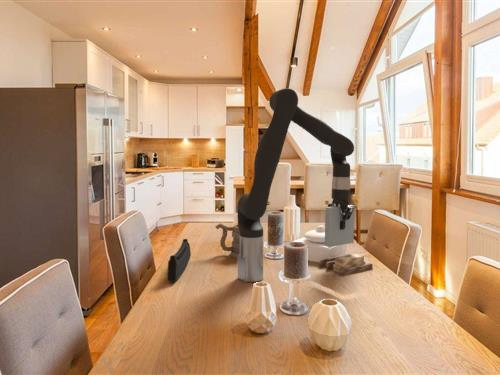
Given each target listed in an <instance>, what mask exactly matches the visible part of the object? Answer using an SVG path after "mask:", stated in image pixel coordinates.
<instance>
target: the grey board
mask: <svg viewBox="0 0 500 375" xmlns="http://www.w3.org/2000/svg"><path fill="white" fill-rule="evenodd" d="M349 206H350V207H353V208H354V210H353V212H352V215H351V217H350V219H349V220H346V222H345V229H344V230H340V221H341V220H340V215H339V207H338V206H336V207H335V206H334V207H328V206H326V207H325V210H324V211H325V212H324V214H325V216H324V227H325V246H327V247H331V246H337V245H344V244H346V245H349V244H353V243H354V240H355V239H354V238H355V237H354V236H355V209H356V208H355V204H354V205H353V204H349ZM342 213H344V212H342ZM343 217H344V215H343Z"/></svg>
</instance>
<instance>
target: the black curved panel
mask: <svg viewBox="0 0 500 375" xmlns="http://www.w3.org/2000/svg"><path fill="white" fill-rule="evenodd" d="M190 259H191V246H190V243H189V241H188V239H187V238H183V239H182V242H181V245H180V247H179V248H178V250H177V251H176V253H174V254H172V255H170V256H169V260H168V263H167V279H166V280H167V282H169V283H170V282H171V283H172V282H176V281H177V280H178V279H179V278H180V277H181V276H182V275H183V274H184V272H185V271H186V268H187V266H188V264H189V261H190Z"/></svg>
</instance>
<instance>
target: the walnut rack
mask: <svg viewBox="0 0 500 375" xmlns="http://www.w3.org/2000/svg"><path fill="white" fill-rule="evenodd" d="M348 255H352V254H351V253H349V254H348V253H346V255H342V256H337V257H332V258H326V259H321V260H320V263H319V265H318V266H317V268H320V269H322V270H325V271H327V272H330V273H333V274H334V275H338V276H342V277H343V276H345V275H350V274H355V273H359V272H363V271H364V272H365V271H368V270H372V269H374V268H373V263H372V262H370V263H365V265H360V266H355V267H351V268H346V269H341V270H340V273H338V272H336V271H333V264H335V258H338V257H343V256H348Z"/></svg>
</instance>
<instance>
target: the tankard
mask: <svg viewBox="0 0 500 375" xmlns="http://www.w3.org/2000/svg"><path fill="white" fill-rule="evenodd" d="M215 229H216V230H218V229H221V230H222V235H221V239H220V240H219V242H220V247H221V249H222V250H223V251H225V252H230V257H233V258H236V259H238V254H240V232H239V228H238V223H237V224H234V225H233V226H227V225H224V224H223V223H218V224H217V225H215ZM228 231H229V232H231V237H232V242H231V246H227V245H226V239H227V236H228Z"/></svg>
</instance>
